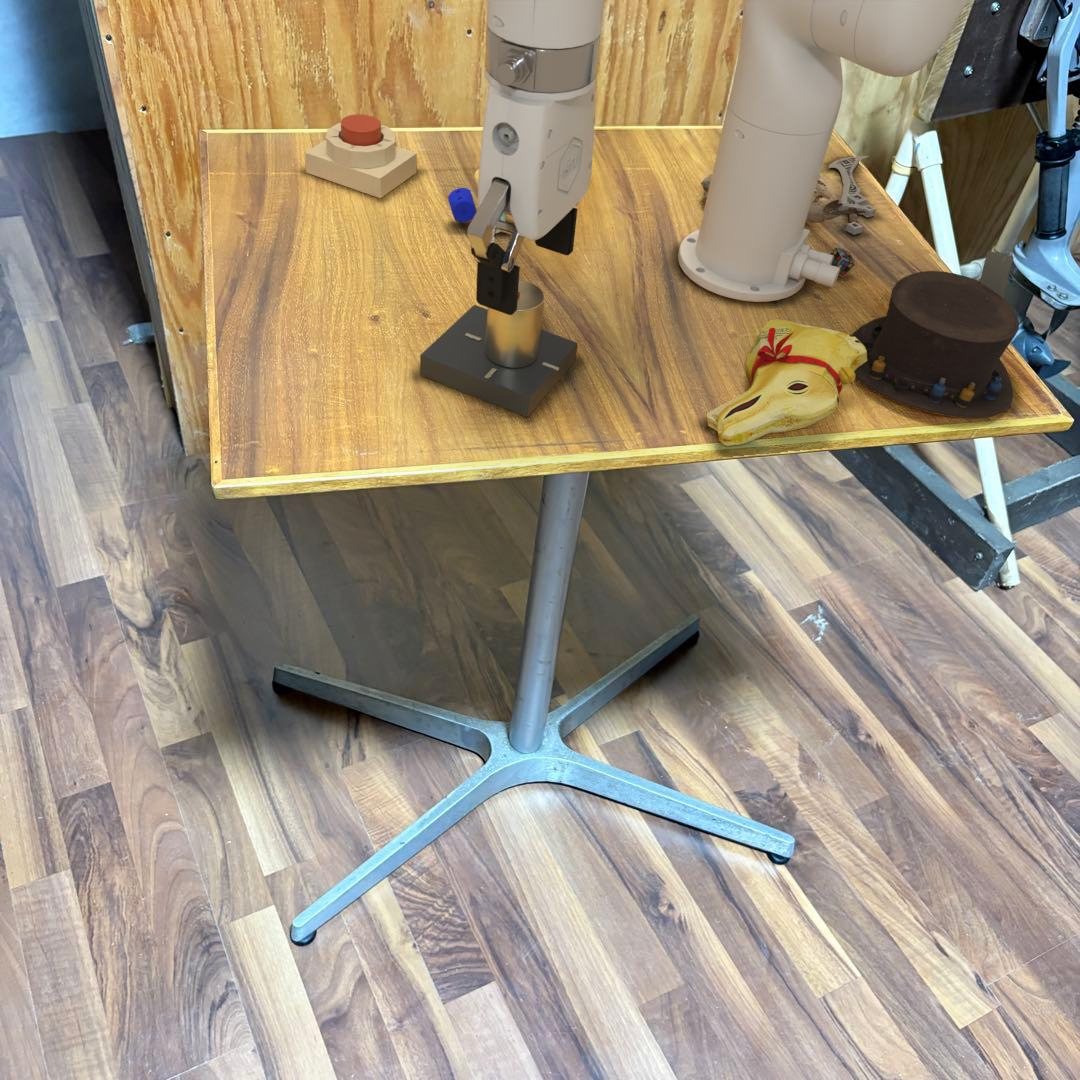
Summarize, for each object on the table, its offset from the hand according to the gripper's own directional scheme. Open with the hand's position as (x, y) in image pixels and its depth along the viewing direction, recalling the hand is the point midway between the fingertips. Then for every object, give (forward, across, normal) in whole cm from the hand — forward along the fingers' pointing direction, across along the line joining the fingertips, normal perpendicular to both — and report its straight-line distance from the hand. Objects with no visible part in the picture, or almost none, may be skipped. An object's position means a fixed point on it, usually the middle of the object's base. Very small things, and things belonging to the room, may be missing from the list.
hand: (526, 277), depth 83 cm
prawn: (+3, +42, -14) cm, 44 cm away
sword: (+10, +49, -13) cm, 52 cm away
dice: (+9, +19, +13) cm, 25 cm away
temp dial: (+7, -1, 0) cm, 7 cm away
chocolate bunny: (+5, +14, -22) cm, 26 cm away
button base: (+9, +21, +29) cm, 37 cm away
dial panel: (+9, -1, +1) cm, 9 cm away
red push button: (+6, +21, +29) cm, 37 cm away
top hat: (+10, +20, -31) cm, 38 cm away
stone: (+12, +42, -6) cm, 44 cm away
